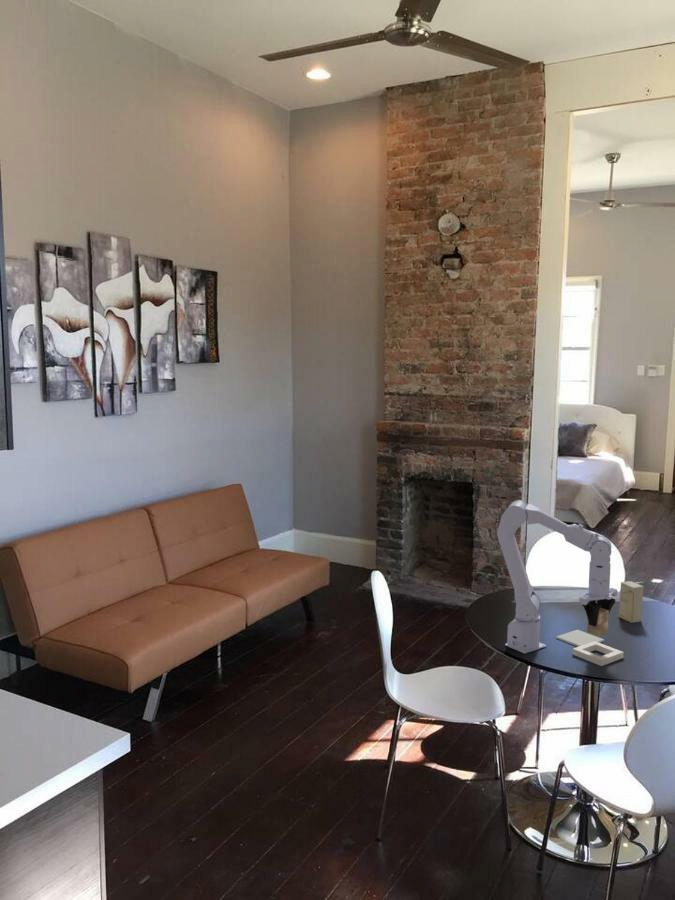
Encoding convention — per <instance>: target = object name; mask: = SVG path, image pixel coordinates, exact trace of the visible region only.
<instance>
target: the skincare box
mask: <svg viewBox="0 0 675 900" xmlns="http://www.w3.org/2000/svg"><path fill="white" fill-rule="evenodd" d="M644 587H645V586H644V585H642V584H639V583H636V582H634V581H632V580H629V581H621V582H620V593H619V606H618V607H619V609H618V617H619V618H621V619H623V620H624V621H626V622H628V621H629V622H628V623H630V624H633V623H640V621H641V622H642V614H643V613H642V612H643V599H644Z"/></svg>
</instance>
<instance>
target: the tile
mask: <svg viewBox="0 0 675 900" xmlns="http://www.w3.org/2000/svg"><path fill="white" fill-rule="evenodd" d="M555 638H556V640H560V641H563V642H565V643H567V644H570V645H572V646H575V647H579V646H582V645H585V644H588V643H591V642H593V641H596V642H598V643H601V644H602V643H604V642H605V639H604V638H601V637H600V636H596V635H593V634H591V633H588V632H585V631H582V630H580V629H576V630H571V631H569V632H566V633H563V634H560V635H556V637H555Z"/></svg>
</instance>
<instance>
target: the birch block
mask: <svg viewBox="0 0 675 900" xmlns="http://www.w3.org/2000/svg"><path fill="white" fill-rule="evenodd" d="M609 615H610V613H609V610H606V609H603V608H600V610H599V613H598V619H597V625H596V626H592V625H589V622H588V621H587V632H586V633H588V634H591V635H593V636H596V637H601V636H605V635H607V634H609Z"/></svg>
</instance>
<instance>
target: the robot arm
mask: <svg viewBox="0 0 675 900" xmlns="http://www.w3.org/2000/svg"><path fill="white" fill-rule="evenodd" d="M500 517H501V518H500V522H499V523H498V528H497V531H496V536H497V540H498V542H499V545H500V548H501V552H502V555H503V558H504V562H505V564H506V568H507V571H508V574H509V576H510V577H509V578H510V581H511V583H512V586H513V589H514V590H513V591H514V600H515V605H516V606H515V616H514V619H513V620H512V621H510V622H509V623H508V625H507V635H506V636H507V639H506V643H505V644H504V645H505V646H506V647H508V648H511V649H513V650H515V651H517V652H520V653H522V654H528V653H530V652H531V653H532V652H534V651H537V650H540V649H543V648H546V647H547V645H546V644H544V643H542V642H540V635H541V633H540V632H541V615H540V614H539V613H538V611H539V608H541V607H540V606H541V602H542V601H541V599H540V597H539V595H538V594H537V593H536V592H535V589H534V587H533V586H532V583H530V580H529V576H528V573H527V571H526V567H525V563H524V560H523V558H522V557H523V556H522V554H521V551H520V548H519V545H518V542H517V539H516V535H515V534H516V532H517V530H518V529H519V528H520V527H522V525H524V524H525V522H526V521H527V522H526V525H533V524H539V525H541V526H543V527H546V528H547V529H550V530H552V531H554V532H556V533H558V534H561V535H563V537H564V539H565V542H567V543H569V544H571V545H573V546H575V547H577V548H579V549H581V550H582V551H584V552H588V553H589V554H590V561H589V566H588V567H589V571H588V590H587V592H586V593H584V594H583V595H581V596H579V602H578V603H579V604H581V605H582V607H583V609H584V611H585V614H586V617H587V623H588V622H589V625H592V626H596V625H597V619H598V613H599V610H600V608H603V609H606V610H609V614H610V612H611V611H612V608H613V607H614V605H615V604H616V599H615V598H613V597H617V596H618V589H617V588H613V587H611V585H610V584H611V583H610V582H611V555H612V542H611V540H610V539H609V538H608V537H606V536H605V535H603V534H599V533H597V532H595V533H594V532H593V531H590V530H589V529H586V528H584V525H583V524H581V523H579V524H576V523H572V524H567V523H565V522H564V521H562V520H560V519H559V518H557V517H555V516H553V515H552V514H550V513H548V512H546V511H545V510H542V509H541V508H539V507H537V506H535V505H534V504H532V503H528V502H526V501H524V500H520V499H516V500H513V501H512V502H511V503H510V504H509V506H508V507H507V508H506V510H505V511H504V512H503V513H502V514H501V516H500Z"/></svg>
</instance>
